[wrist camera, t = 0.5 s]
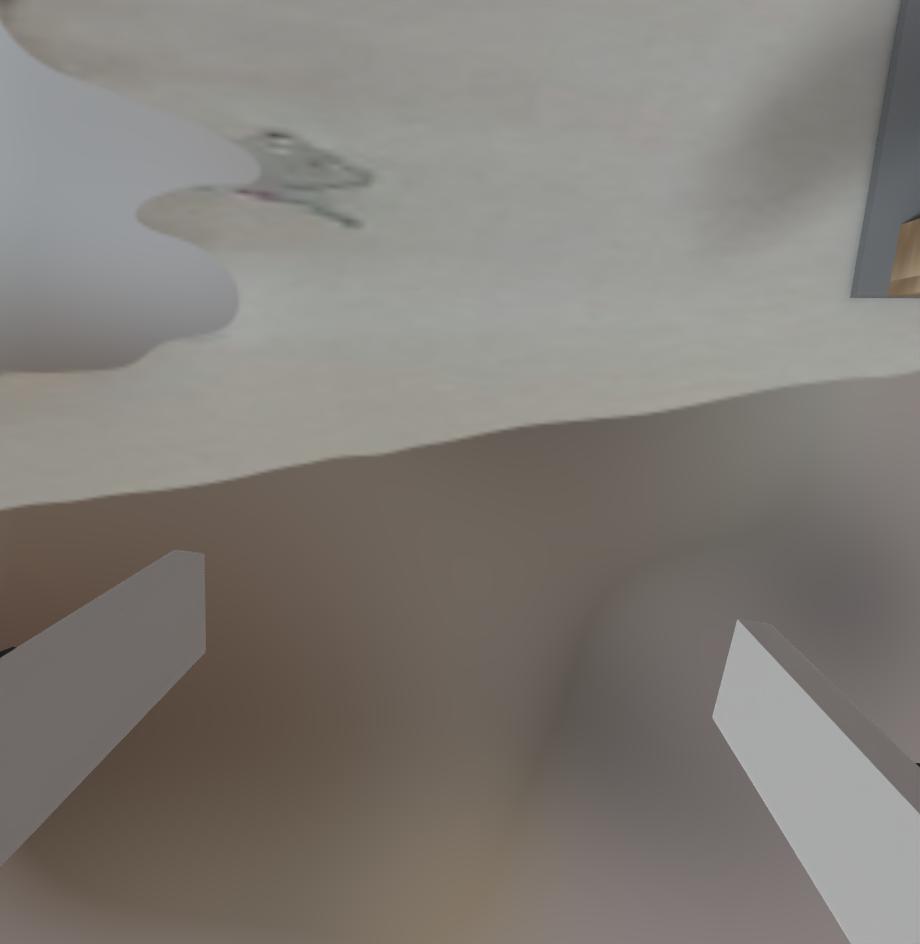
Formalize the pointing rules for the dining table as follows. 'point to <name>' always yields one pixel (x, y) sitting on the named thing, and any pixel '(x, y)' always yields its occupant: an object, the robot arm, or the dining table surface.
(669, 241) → the dining table surface
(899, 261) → the socket block
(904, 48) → the base mat
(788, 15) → the dining table surface
